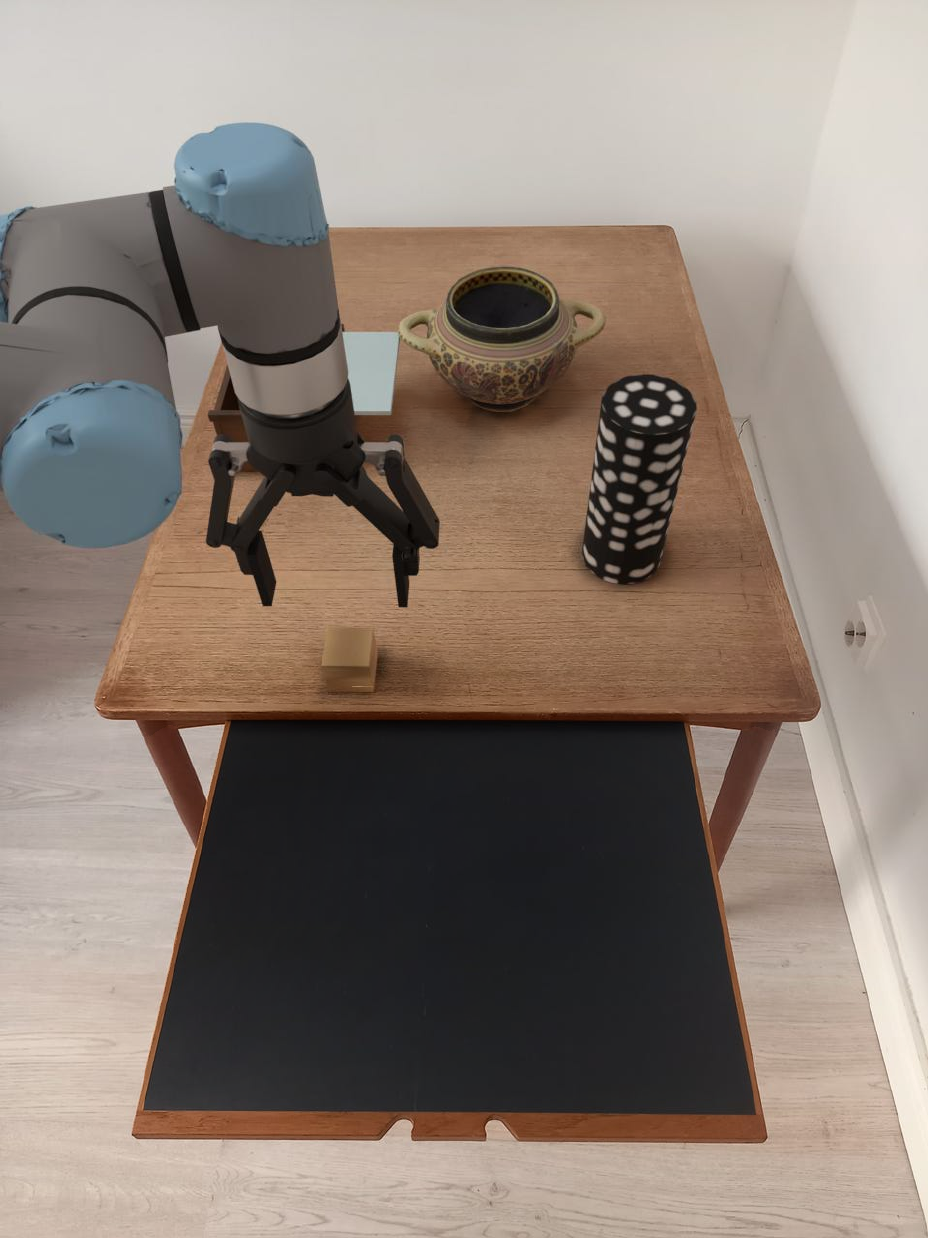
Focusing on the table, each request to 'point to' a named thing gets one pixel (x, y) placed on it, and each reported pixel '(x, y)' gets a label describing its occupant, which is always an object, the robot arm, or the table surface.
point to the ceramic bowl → (502, 336)
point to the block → (349, 659)
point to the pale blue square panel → (372, 370)
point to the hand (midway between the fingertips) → (336, 594)
